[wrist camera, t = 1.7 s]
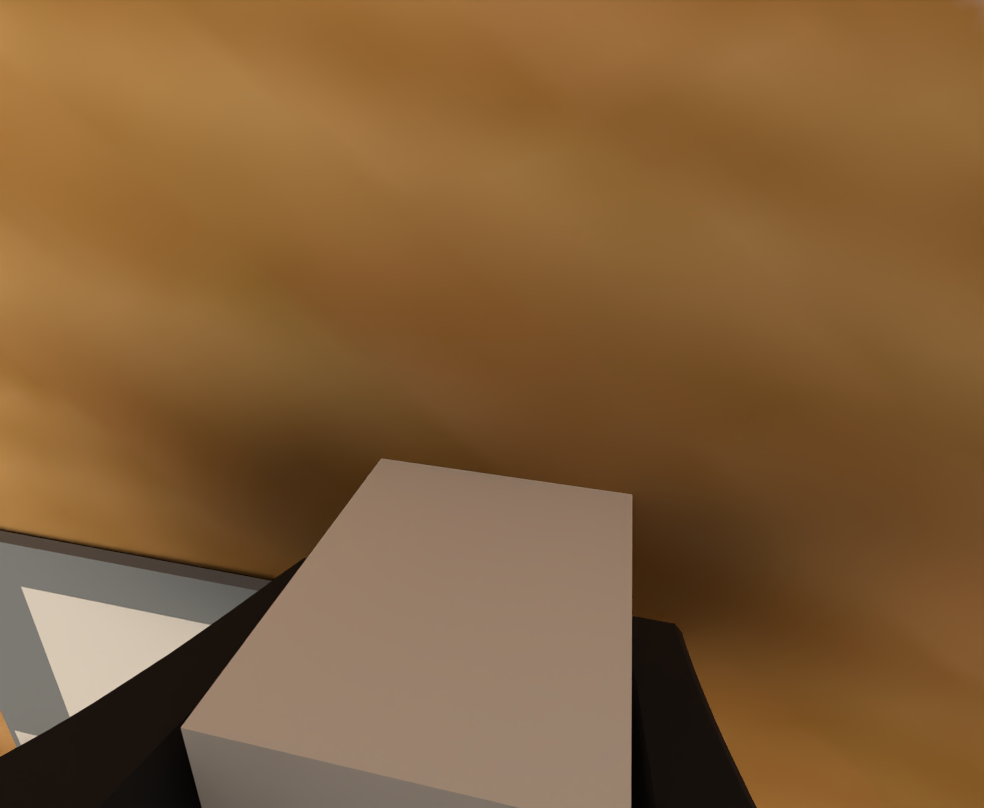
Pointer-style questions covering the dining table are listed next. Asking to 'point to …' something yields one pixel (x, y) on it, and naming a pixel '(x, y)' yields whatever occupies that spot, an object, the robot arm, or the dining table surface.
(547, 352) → the dining table surface
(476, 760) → the cream block
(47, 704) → the slate mat
